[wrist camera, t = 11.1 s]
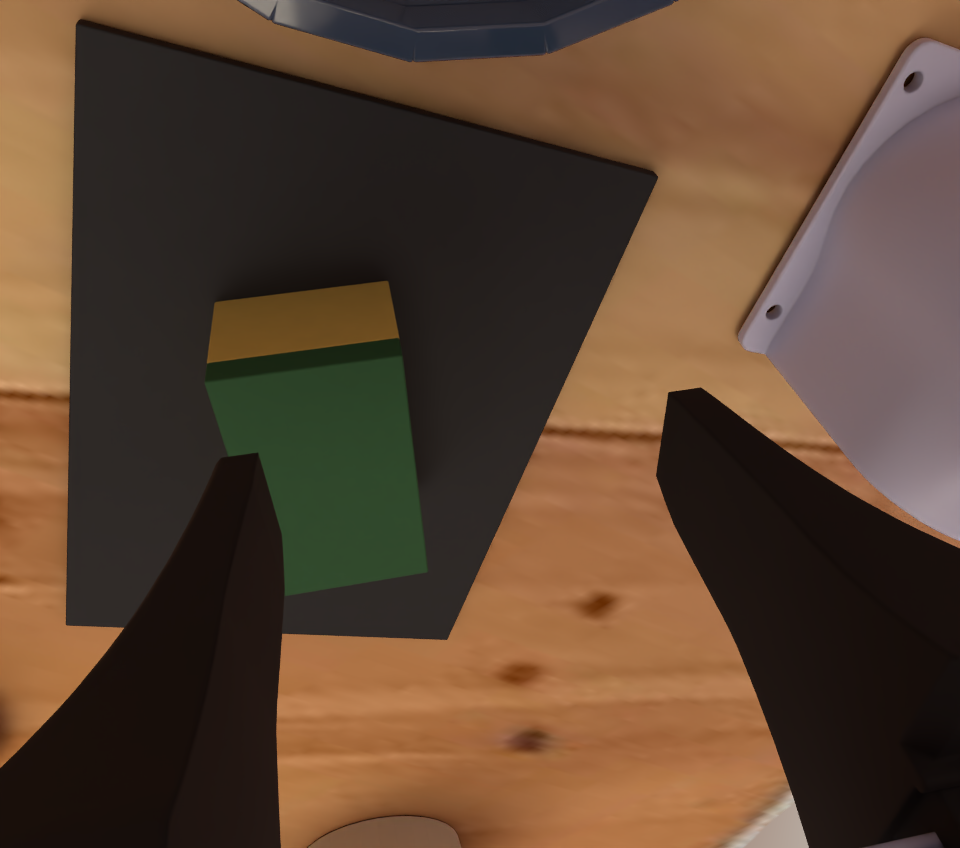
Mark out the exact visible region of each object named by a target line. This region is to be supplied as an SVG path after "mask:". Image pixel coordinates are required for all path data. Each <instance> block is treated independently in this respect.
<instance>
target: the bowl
mask: <svg viewBox="0 0 960 848" xmlns="http://www.w3.org/2000/svg"><path fill="white" fill-rule="evenodd" d="M238 1H239V2H241V3H242V4H244V5H245V6H247V7H248V8H250V9H251V10H253V11H254V12H256V13H258V14H259V15H261V16H262V17H264V18H265V19H267V20H272V22H273V23H274V24H277V25H281V26H284V27H288V28H292V29H295V30H299V31H302V32H306V33H309V34H313V35H316V36H320V37H323V38H327V39H330V40H334V41H337V42H341V43H344V44H348V45H351V46H355V47H358V48H362V49H365V50H369V51H372V52H376V53H379V54H383V55H387V56H390V57H394V58H397V59H401V60H404V61H408V62H412V61H414V62H430V61H448V60H466V59H485V58H503V57H521V56H539V55H544V54H546V53H547V54H550V53H553V52H555V51H558V50H560V49H563V48H565V47H568V46H570V45H573V44H575V43H578V42H580V41H583V40H585V39H587V38H590V37H592V36H595V35H597V34H600V33H602V32H605V31H607V30H610V29H612V28H615V27H617V26H620V25H622V24H625V23H627V22H630V21H632V20H635V19H637V18H640V17H642V16H645V15H647V14H650V13H652V12H654V11H657V10H659V9H662V8H664V7H667V6H669V5H671V4H673V3H674V1H675V2H676V1H678V0H238Z"/></svg>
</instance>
